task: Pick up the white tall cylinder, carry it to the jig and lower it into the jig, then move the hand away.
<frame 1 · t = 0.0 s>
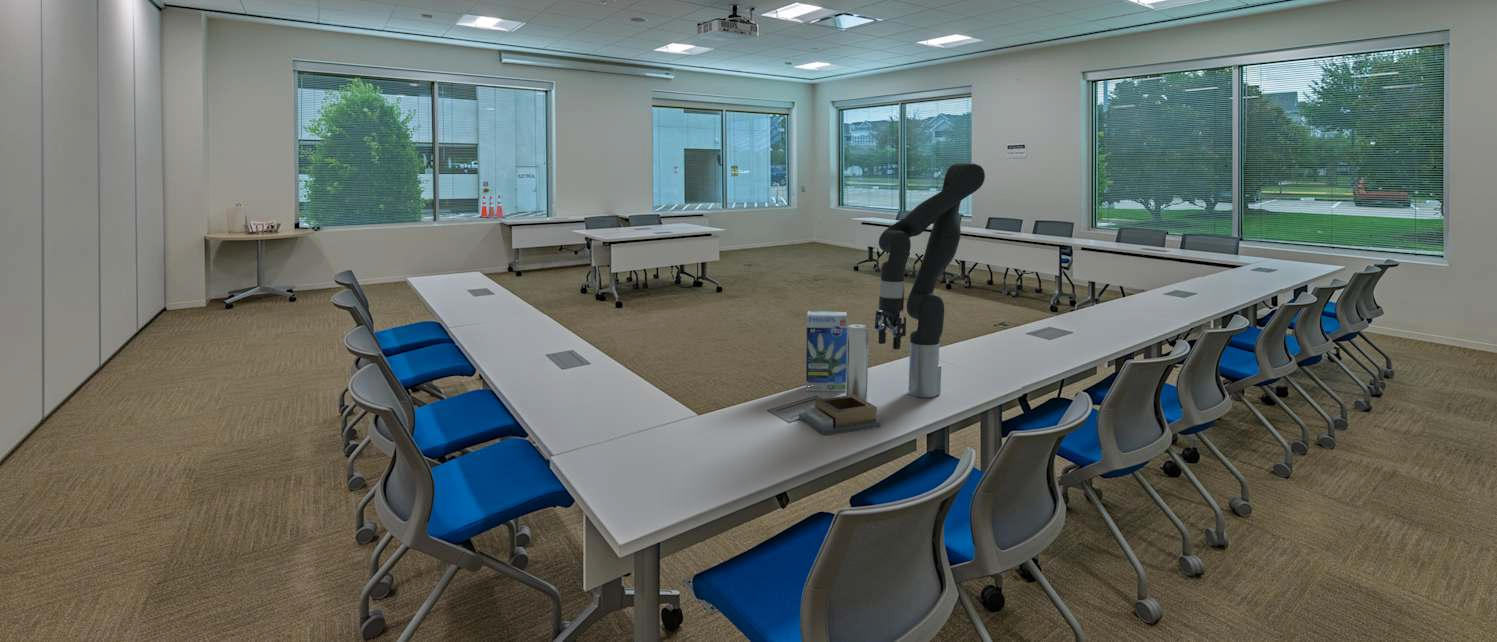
hand: (889, 346, 230), 17 cm above the table, tool pointing down, fingers open, 8 cm apart
white tall cylinder: (856, 404, 228), on the table
jig: (838, 422, 212), on the table
string lights box: (826, 389, 245), on the table
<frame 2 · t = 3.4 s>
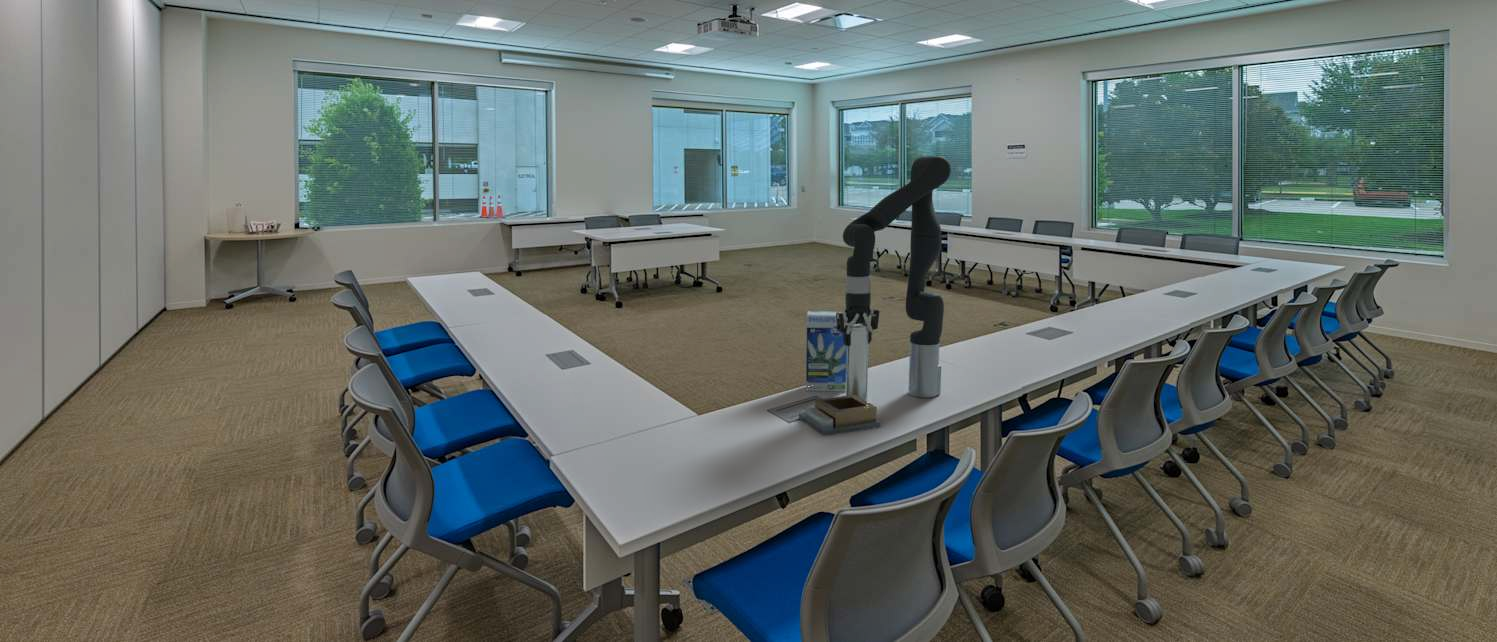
hand: (857, 344, 224), 19 cm above the table, tool pointing down, fingers closed on white tall cylinder, 6 cm apart
white tall cylinder: (856, 404, 228), on the table, touching gripper
everything else where it was.
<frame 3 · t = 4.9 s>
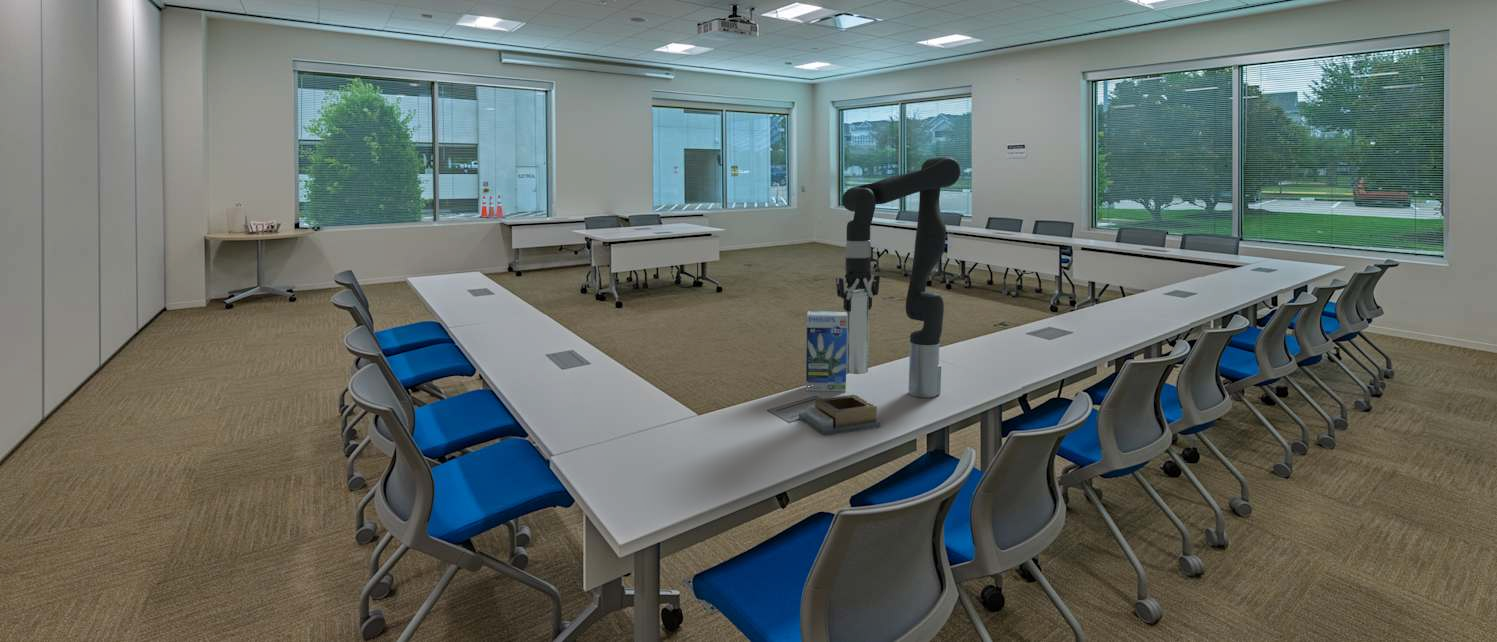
hand: (857, 310, 222), 30 cm above the table, tool pointing down, fingers closed on white tall cylinder, 6 cm apart
white tall cylinder: (857, 371, 226), point 10 cm above the table, touching gripper
everything else where it was.
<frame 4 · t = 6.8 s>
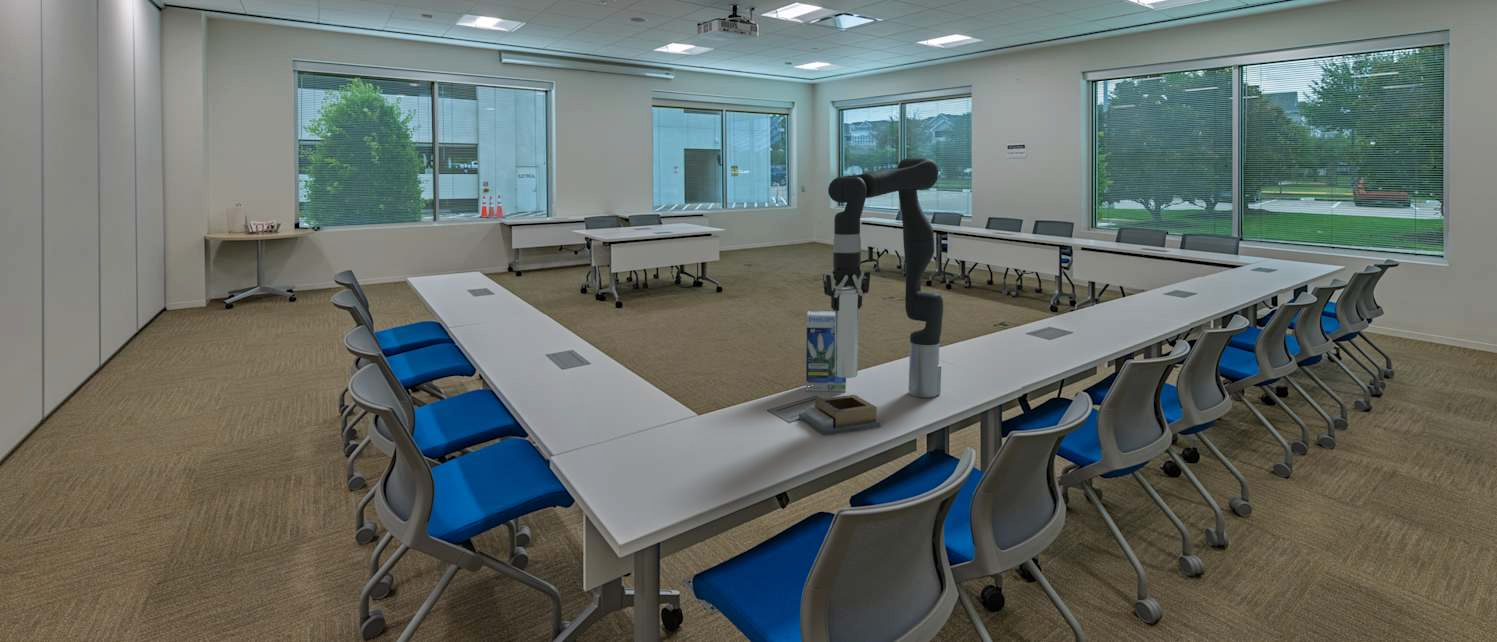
hand: (846, 309, 206), 33 cm above the table, tool pointing down, fingers closed on white tall cylinder, 6 cm apart
white tall cylinder: (846, 375, 210), point 14 cm above the table, touching gripper
everything else where it was.
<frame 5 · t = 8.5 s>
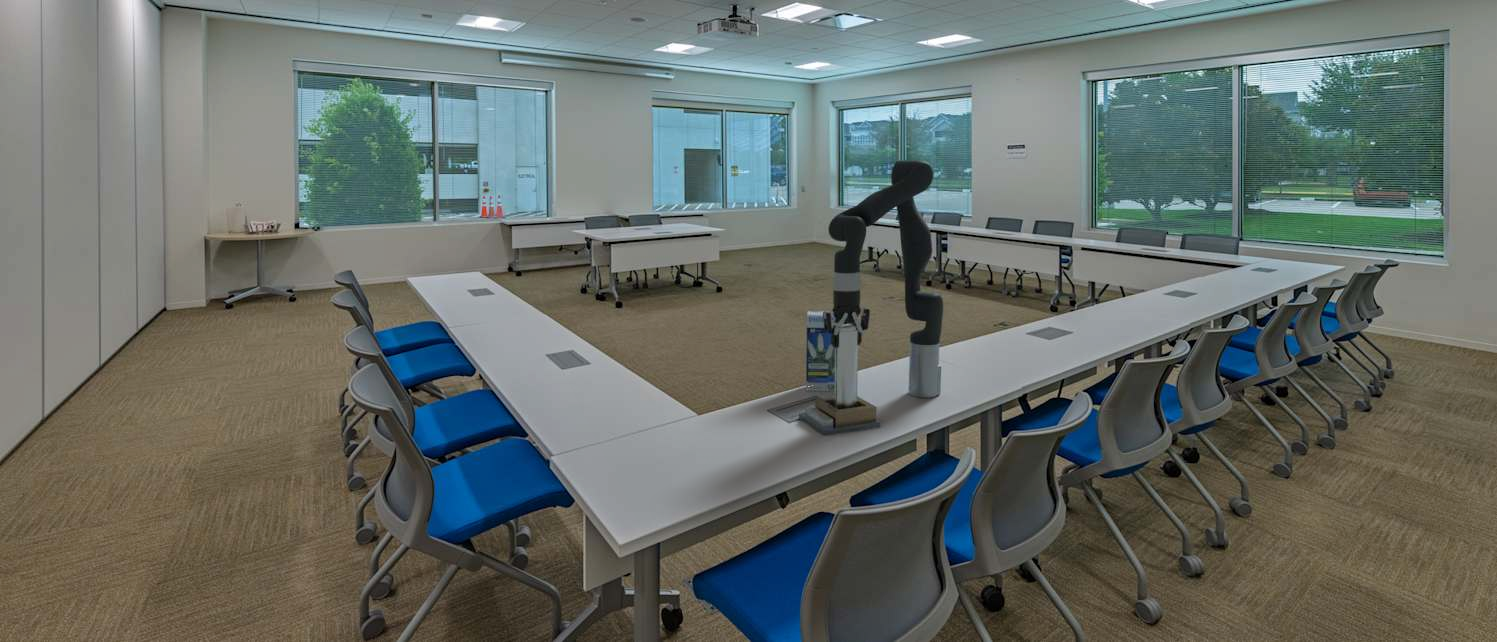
hand: (846, 345, 208), 22 cm above the table, tool pointing down, fingers closed on white tall cylinder, 6 cm apart
white tall cylinder: (845, 411, 212), point 3 cm above the table, touching gripper
everything else where it was.
when the fingers open (21 cm above the table, at t = 10.2 s): white tall cylinder stays where it is, resting on jig.
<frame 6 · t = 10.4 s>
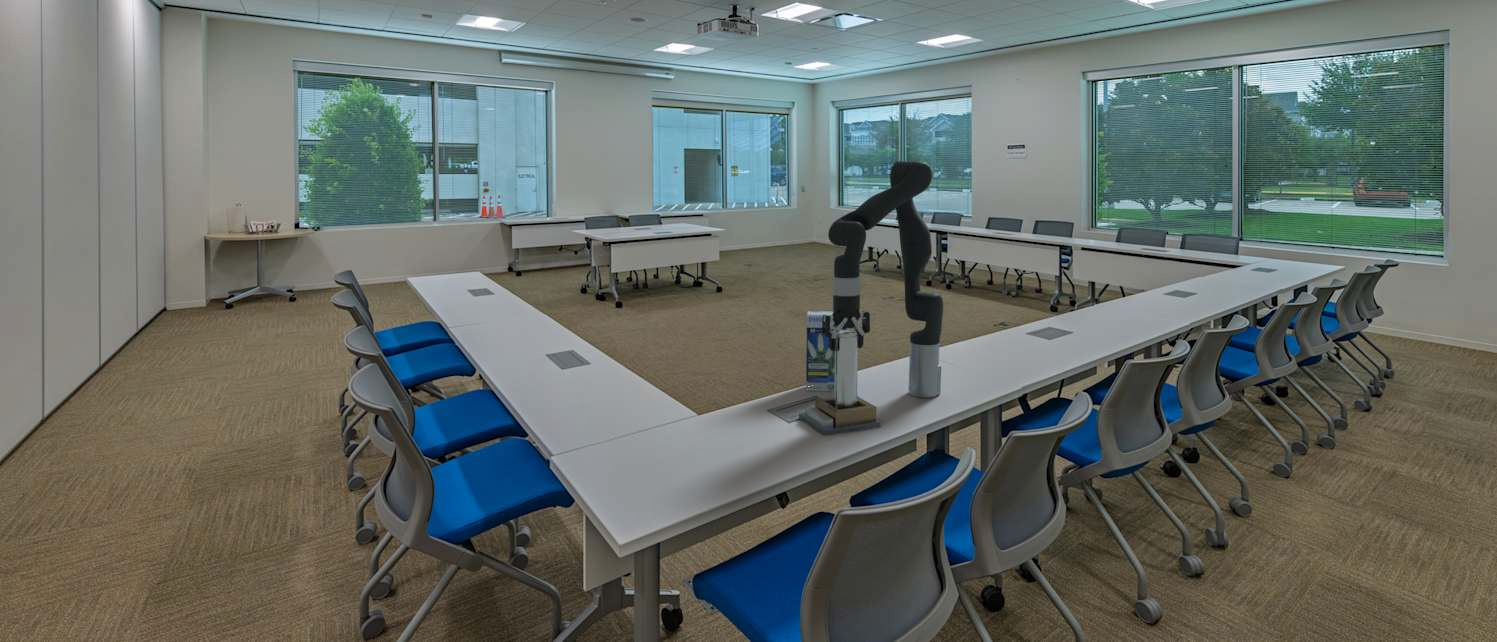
hand: (845, 349, 208), 22 cm above the table, tool pointing down, fingers open, 8 cm apart
white tall cylinder: (845, 417, 212), point 1 cm above the table, touching jig
everything else where it was.
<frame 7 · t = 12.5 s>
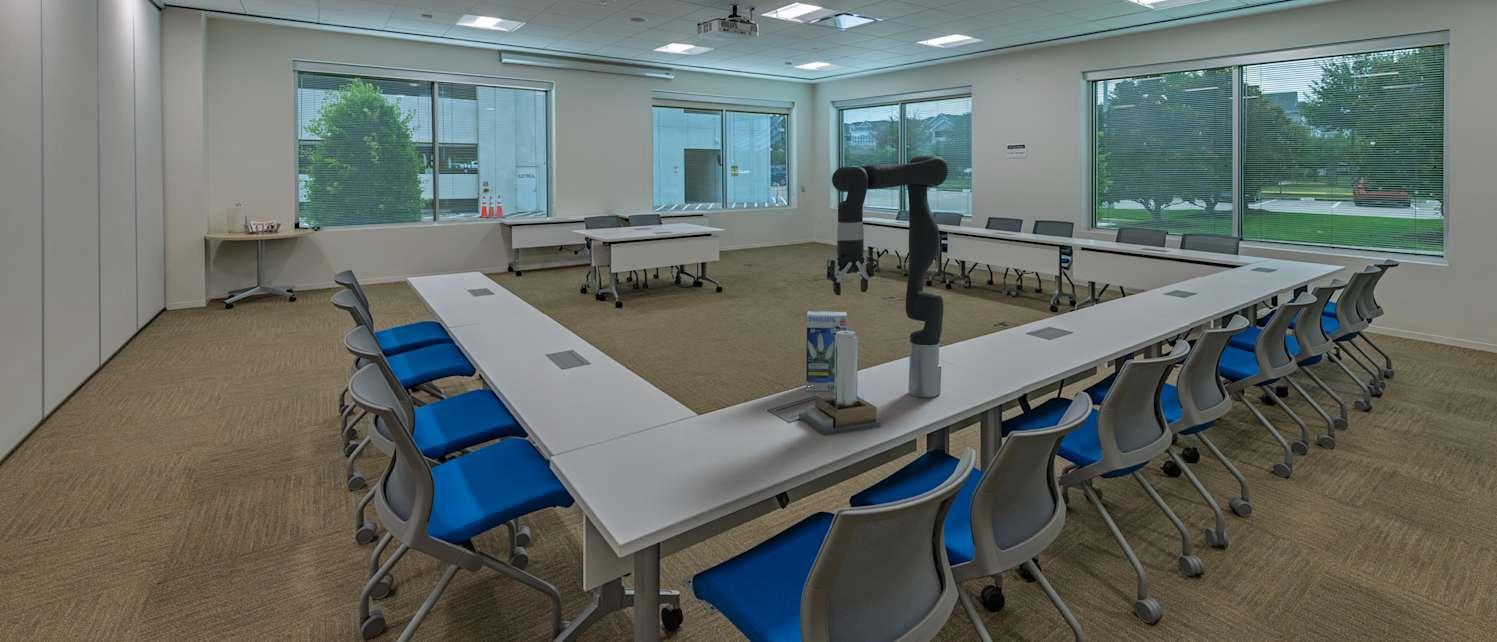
hand: (850, 293, 213), 36 cm above the table, tool pointing down, fingers open, 8 cm apart
nothing on the table moved.
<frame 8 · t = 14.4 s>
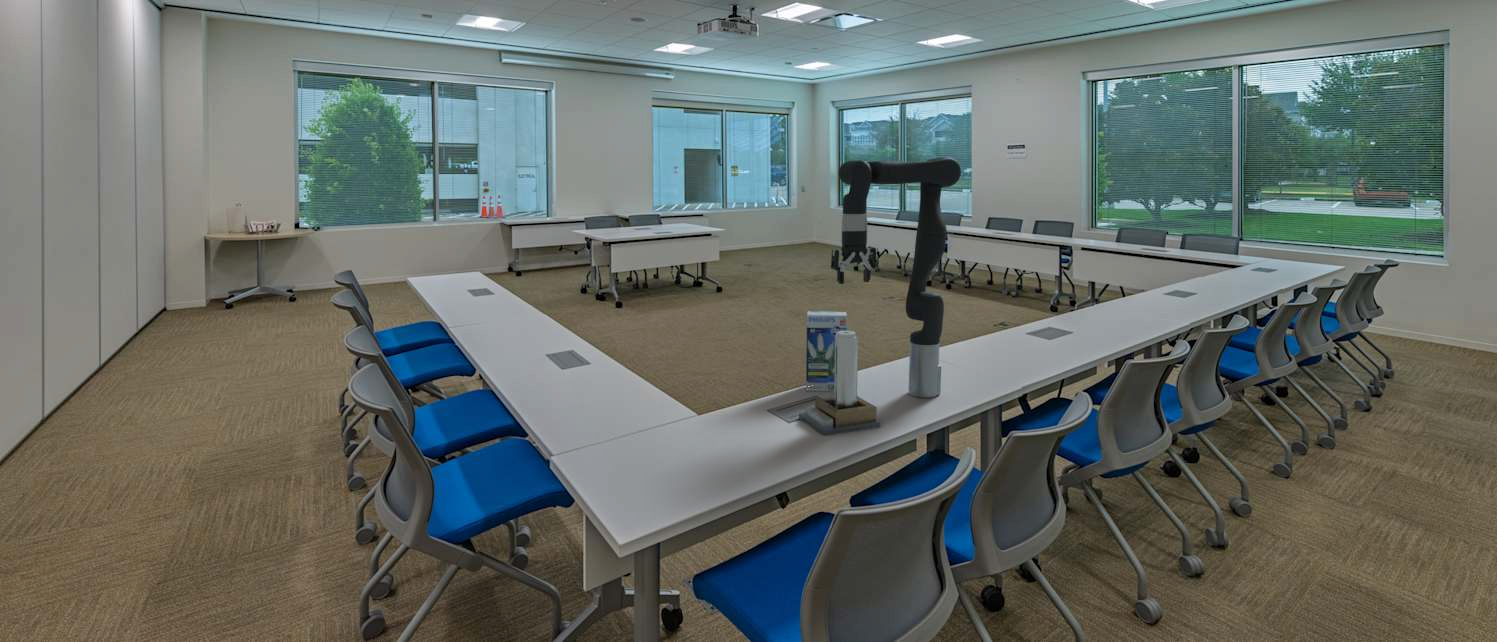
hand: (853, 282, 221), 38 cm above the table, tool pointing down, fingers open, 8 cm apart
nothing on the table moved.
at the end: white tall cylinder 0.1 cm from the target spot on the jig, point 1.3 cm above the jig's base; white tall cylinder tilted 0°; the gripper is holding nothing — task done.
